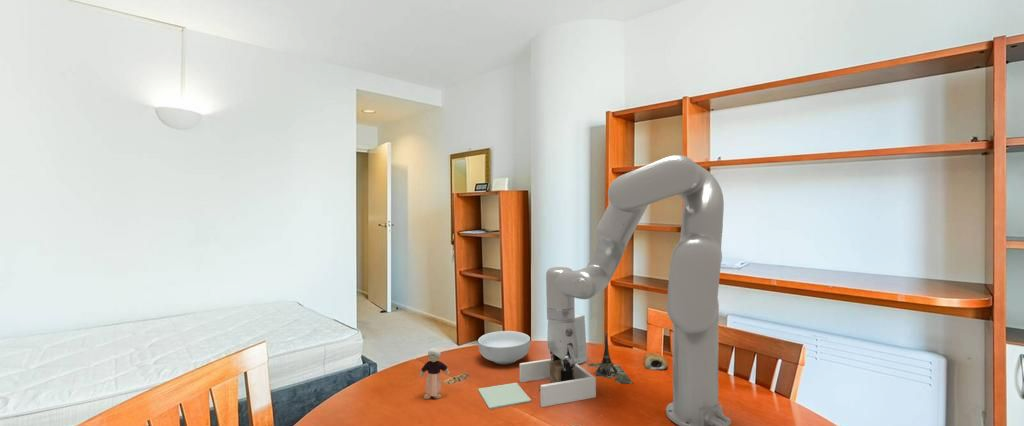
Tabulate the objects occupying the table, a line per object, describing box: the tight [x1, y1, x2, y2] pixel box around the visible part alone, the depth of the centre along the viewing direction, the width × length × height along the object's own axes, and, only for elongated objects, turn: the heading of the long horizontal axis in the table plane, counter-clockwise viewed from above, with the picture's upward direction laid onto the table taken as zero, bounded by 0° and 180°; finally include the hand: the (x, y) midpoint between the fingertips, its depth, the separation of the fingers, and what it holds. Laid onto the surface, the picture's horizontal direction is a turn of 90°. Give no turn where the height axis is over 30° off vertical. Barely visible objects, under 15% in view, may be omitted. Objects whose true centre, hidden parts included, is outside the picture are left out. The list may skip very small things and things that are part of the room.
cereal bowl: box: [477, 330, 531, 365], centre depth 129 cm, size 17×17×7 cm
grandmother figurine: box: [418, 347, 450, 400], centre depth 104 cm, size 8×4×13 cm, turn 105°
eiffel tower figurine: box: [586, 332, 633, 385], centre depth 118 cm, size 15×10×13 cm
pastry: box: [643, 352, 668, 371], centre depth 124 cm, size 9×7×4 cm
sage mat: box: [477, 382, 532, 410], centre depth 104 cm, size 11×11×1 cm
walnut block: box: [549, 360, 575, 384], centre depth 108 cm, size 5×5×6 cm
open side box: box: [519, 357, 597, 408], centre depth 108 cm, size 16×15×5 cm
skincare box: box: [565, 312, 588, 365], centre depth 128 cm, size 8×6×15 cm
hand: (562, 379), depth 108 cm, fingers closed on walnut block, 5 cm apart
